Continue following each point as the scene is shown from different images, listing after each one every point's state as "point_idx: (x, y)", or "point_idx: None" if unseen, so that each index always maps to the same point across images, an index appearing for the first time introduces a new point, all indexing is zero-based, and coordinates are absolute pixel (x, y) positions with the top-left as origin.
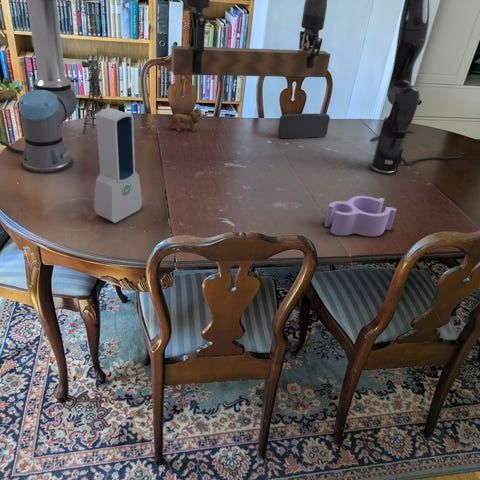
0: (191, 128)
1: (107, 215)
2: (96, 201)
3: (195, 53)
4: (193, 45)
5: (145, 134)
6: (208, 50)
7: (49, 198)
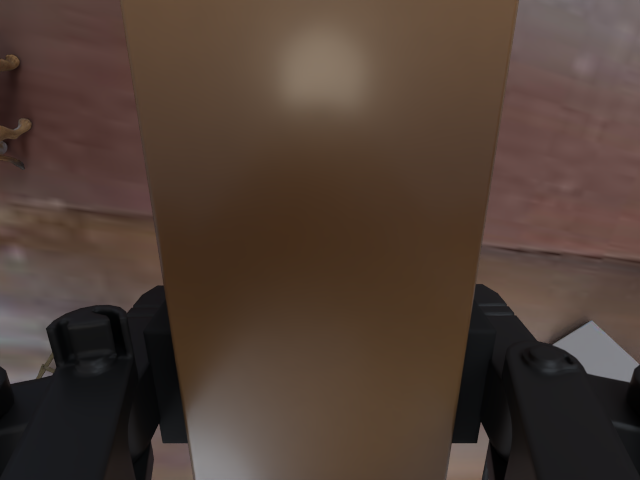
0: (8, 70)
1: None
2: None
3: (475, 407)
4: (138, 424)
5: (83, 250)
6: (484, 221)
7: (477, 467)
